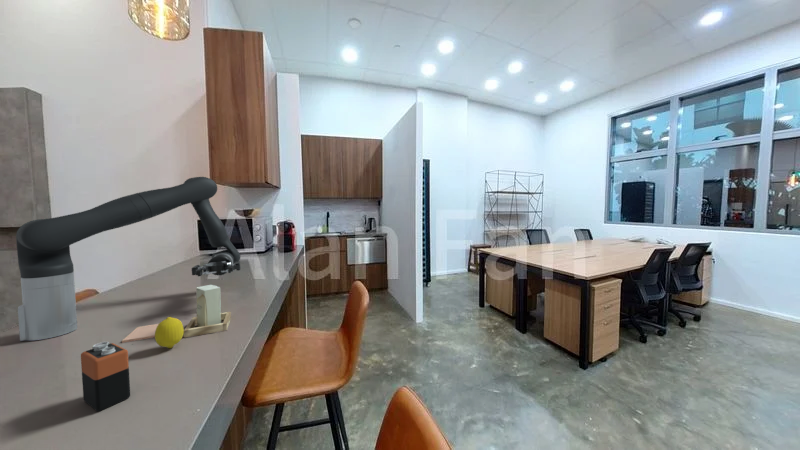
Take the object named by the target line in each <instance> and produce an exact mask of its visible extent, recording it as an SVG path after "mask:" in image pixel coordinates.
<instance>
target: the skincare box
mask: <svg viewBox="0 0 800 450" xmlns="http://www.w3.org/2000/svg"><path fill="white" fill-rule="evenodd" d="M195 290H196V291H195V292H196V293H195V294H196V317H197V324H196V327H202V326H208V325H214V324H220V323H222V320H221V313H222V312H221V311H222V310H221V309H222V307H221V287H220V286H219V285H218V286H217V285H215V284H207V285H200V286H197V287H196V289H195Z"/></svg>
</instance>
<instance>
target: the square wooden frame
mask: <svg viewBox="0 0 800 450" xmlns="http://www.w3.org/2000/svg"><path fill="white" fill-rule="evenodd" d="M231 319H232V311H225V312H221V321H223V322H221V323H220V324H214V325H208V326H202V327H197V316H194V317H192V318H191V319H190V321H189V322H188V323H187V325H186V327H185V328H184V334H183V338H184V339H186V338H192V337H197V336H202V335H207V334H215V333H220V332H224V331H228V329H229V325H230V321H231ZM195 325H196V326H195Z"/></svg>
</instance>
